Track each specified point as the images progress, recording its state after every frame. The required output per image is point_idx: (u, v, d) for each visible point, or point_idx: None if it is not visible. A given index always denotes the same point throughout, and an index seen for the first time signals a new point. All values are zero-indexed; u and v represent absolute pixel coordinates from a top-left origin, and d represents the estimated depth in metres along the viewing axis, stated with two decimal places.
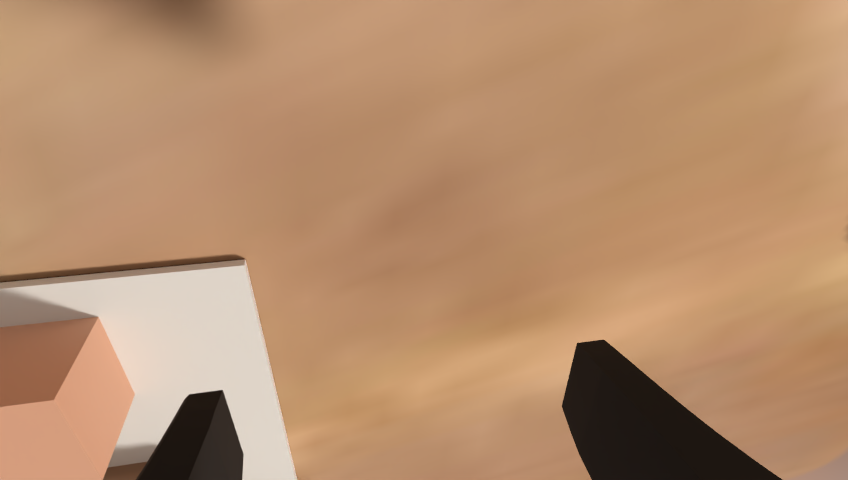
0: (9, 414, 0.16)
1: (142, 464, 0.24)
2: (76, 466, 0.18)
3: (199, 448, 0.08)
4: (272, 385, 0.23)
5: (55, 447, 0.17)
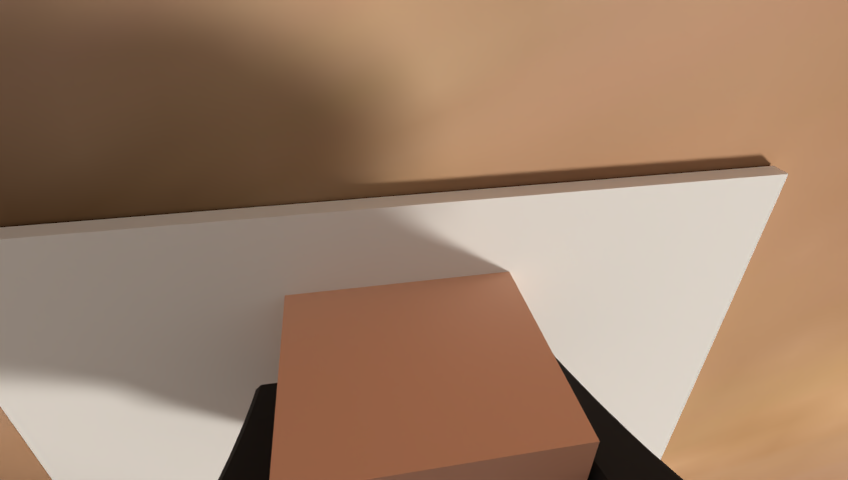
0: (497, 475, 0.07)
1: None
2: None
3: None
4: (687, 396, 0.14)
5: None
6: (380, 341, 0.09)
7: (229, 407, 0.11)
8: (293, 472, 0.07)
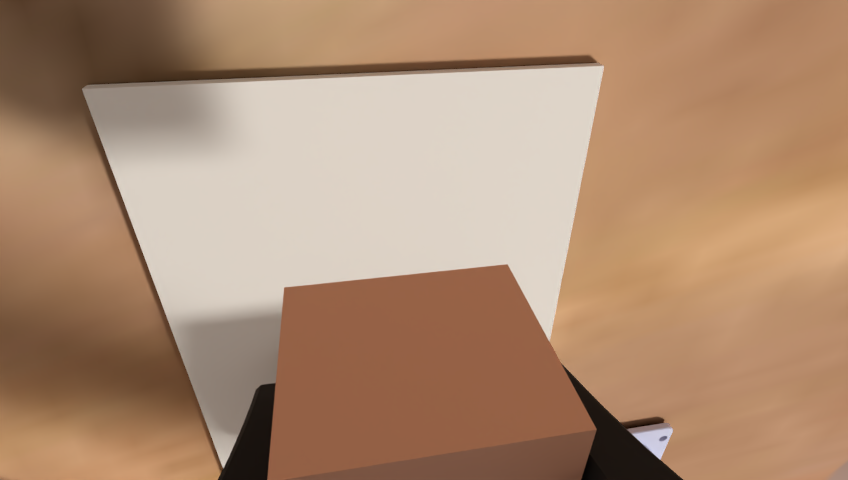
0: (494, 463, 0.07)
1: None
2: None
3: None
4: (569, 238, 0.20)
5: None
6: (379, 332, 0.09)
7: (260, 218, 0.17)
8: (292, 460, 0.07)
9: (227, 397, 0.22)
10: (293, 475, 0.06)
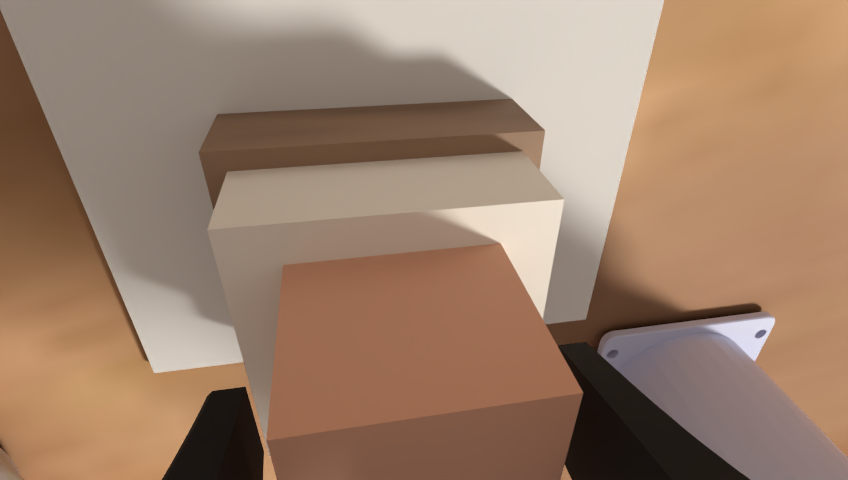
0: (485, 426, 0.07)
1: (416, 104, 0.14)
2: None
3: (226, 444, 0.08)
4: None
5: None
6: (375, 305, 0.09)
7: None
8: (290, 420, 0.07)
9: (134, 208, 0.14)
10: (291, 434, 0.07)
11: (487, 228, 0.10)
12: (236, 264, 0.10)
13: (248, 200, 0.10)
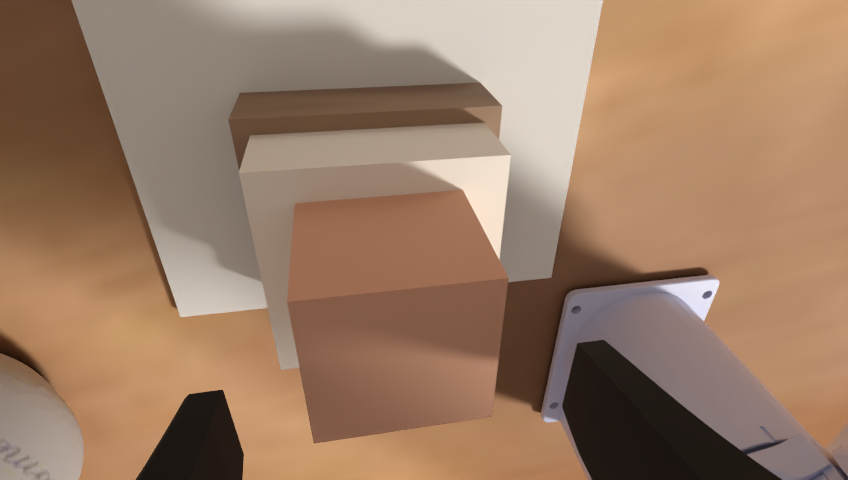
0: (439, 301, 0.10)
1: (401, 86, 0.17)
2: (473, 393, 0.12)
3: (199, 448, 0.08)
4: None
5: (466, 359, 0.12)
6: (364, 228, 0.12)
7: None
8: (303, 292, 0.10)
9: (170, 170, 0.17)
10: (304, 298, 0.10)
11: (452, 177, 0.13)
12: (259, 201, 0.13)
13: (268, 154, 0.13)
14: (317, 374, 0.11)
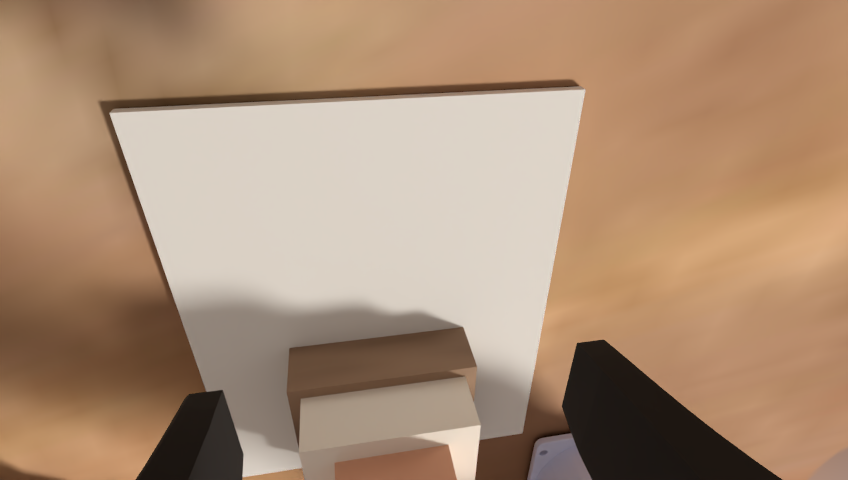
0: None
1: (405, 335, 0.23)
2: None
3: (199, 448, 0.08)
4: (555, 246, 0.22)
5: None
6: None
7: (269, 228, 0.19)
8: None
9: (236, 394, 0.23)
10: None
11: (440, 439, 0.20)
12: (311, 464, 0.19)
13: (316, 426, 0.20)
14: None
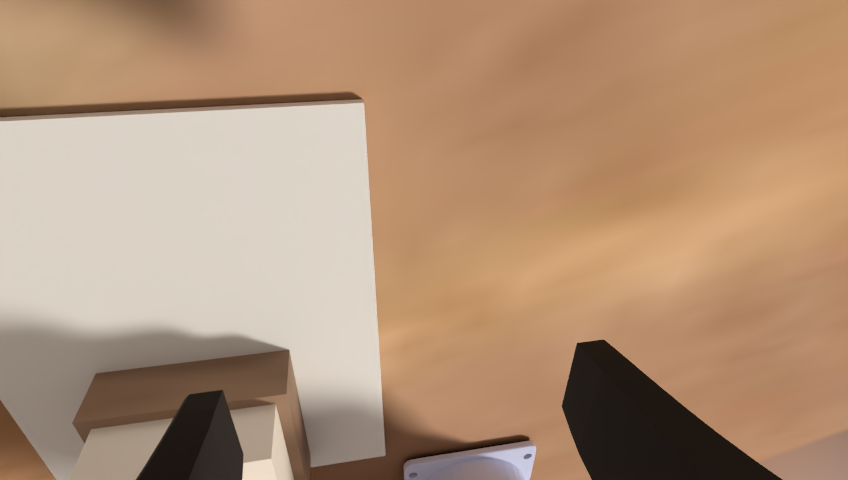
0: None
1: (224, 359, 0.22)
2: None
3: (199, 447, 0.08)
4: (373, 266, 0.21)
5: None
6: None
7: (36, 250, 0.18)
8: None
9: (49, 420, 0.22)
10: None
11: None
12: None
13: (94, 461, 0.18)
14: None
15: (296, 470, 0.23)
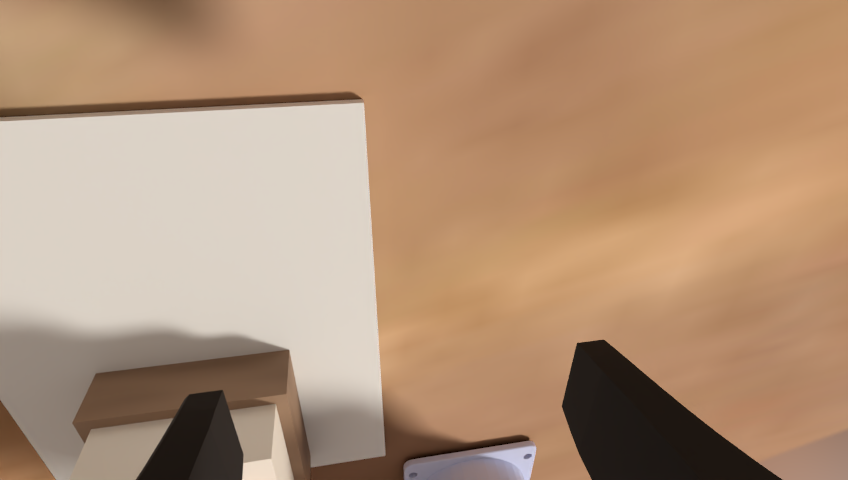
0: None
1: (224, 359, 0.22)
2: None
3: (199, 447, 0.08)
4: (373, 266, 0.21)
5: None
6: None
7: (36, 250, 0.18)
8: None
9: (49, 420, 0.22)
10: None
11: None
12: None
13: (94, 461, 0.18)
14: None
15: (296, 470, 0.23)
